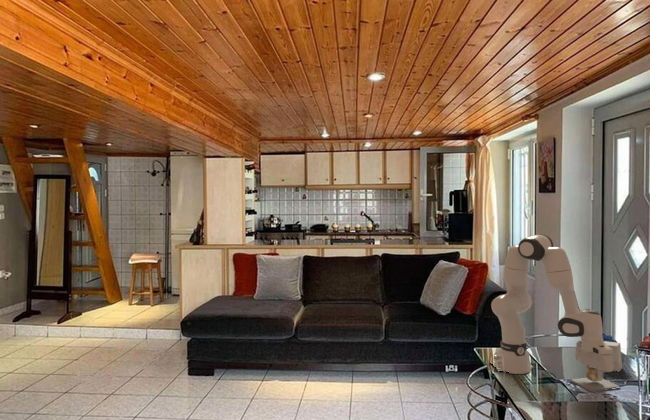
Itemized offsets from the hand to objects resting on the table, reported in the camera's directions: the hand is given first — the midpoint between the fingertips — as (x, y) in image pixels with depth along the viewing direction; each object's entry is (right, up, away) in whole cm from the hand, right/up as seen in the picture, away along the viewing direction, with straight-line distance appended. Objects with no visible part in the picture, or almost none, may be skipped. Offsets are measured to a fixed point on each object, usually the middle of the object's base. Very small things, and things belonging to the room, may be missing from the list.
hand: (594, 375), depth 219 cm
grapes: (+30, -3, +41) cm, 50 cm away
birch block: (0, -2, 0) cm, 2 cm away
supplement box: (+20, -4, +20) cm, 28 cm away
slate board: (0, -4, 0) cm, 4 cm away
